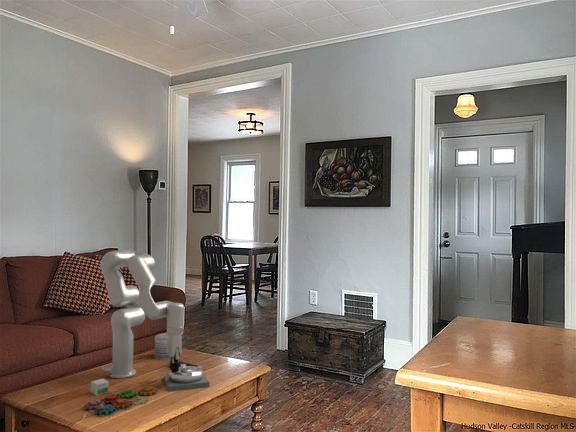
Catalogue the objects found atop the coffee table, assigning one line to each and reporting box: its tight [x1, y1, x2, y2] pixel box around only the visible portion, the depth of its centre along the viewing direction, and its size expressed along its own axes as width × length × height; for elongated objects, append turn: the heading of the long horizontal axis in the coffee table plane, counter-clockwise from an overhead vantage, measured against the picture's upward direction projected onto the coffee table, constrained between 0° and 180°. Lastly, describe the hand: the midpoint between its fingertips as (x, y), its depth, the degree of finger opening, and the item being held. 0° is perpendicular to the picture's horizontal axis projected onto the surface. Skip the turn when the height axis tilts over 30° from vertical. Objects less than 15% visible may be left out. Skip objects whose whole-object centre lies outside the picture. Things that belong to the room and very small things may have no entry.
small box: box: [90, 378, 110, 396], centre depth 201 cm, size 6×6×5 cm
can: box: [154, 332, 170, 360], centre depth 257 cm, size 11×11×12 cm
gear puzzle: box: [81, 385, 159, 418], centre depth 191 cm, size 31×16×4 cm, turn 144°
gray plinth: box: [163, 372, 210, 392], centre depth 216 cm, size 18×18×5 cm
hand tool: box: [179, 358, 199, 367], centre depth 236 cm, size 19×4×5 cm, turn 51°
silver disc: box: [168, 364, 204, 383], centre depth 216 cm, size 15×15×8 cm
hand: (174, 370), depth 214 cm, fingers closed on silver disc, 2 cm apart
